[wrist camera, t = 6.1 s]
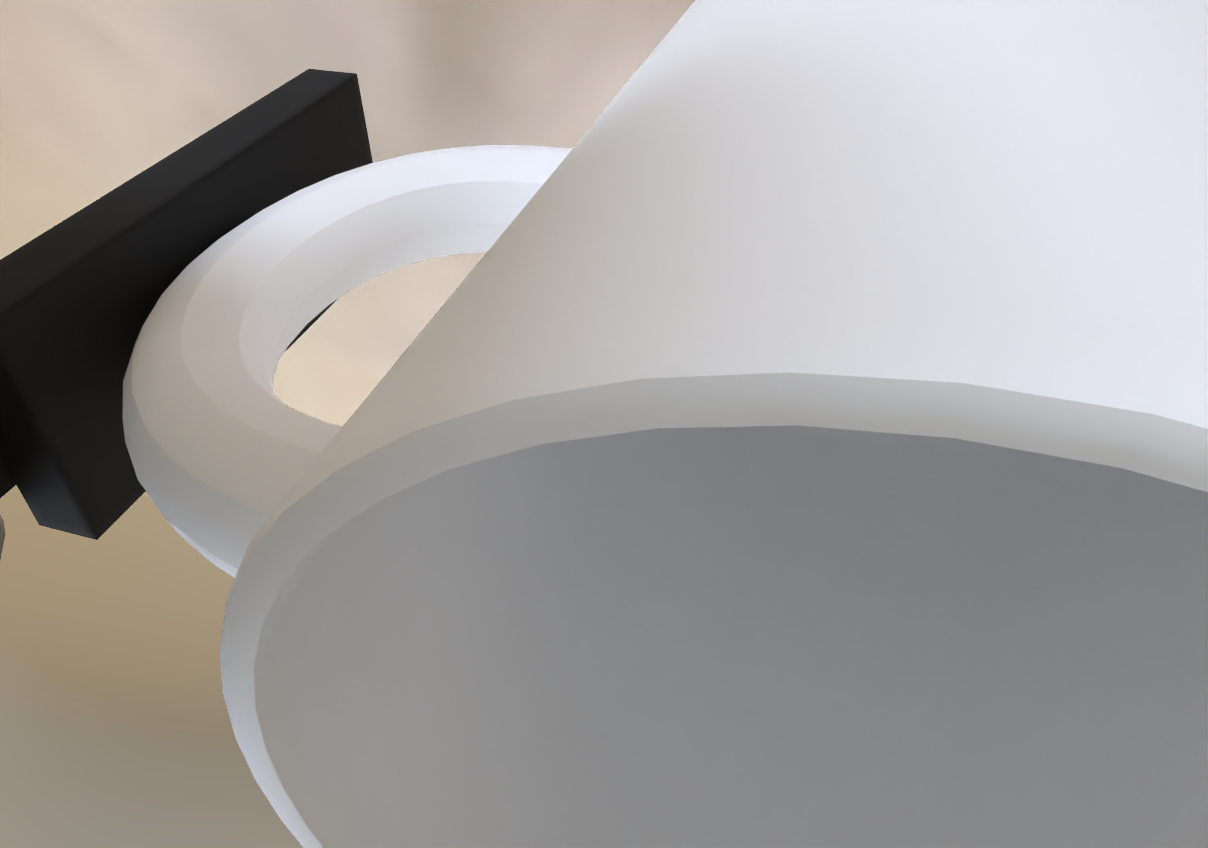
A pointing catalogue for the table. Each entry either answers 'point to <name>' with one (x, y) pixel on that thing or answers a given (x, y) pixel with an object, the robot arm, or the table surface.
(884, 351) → the mug
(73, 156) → the table surface
